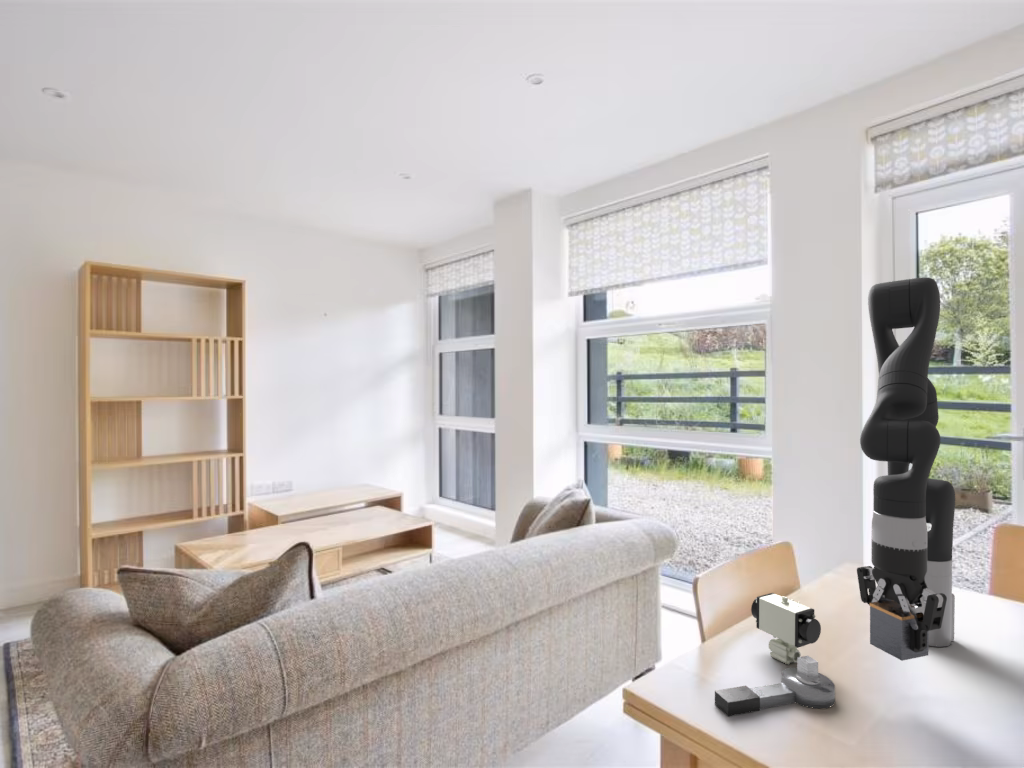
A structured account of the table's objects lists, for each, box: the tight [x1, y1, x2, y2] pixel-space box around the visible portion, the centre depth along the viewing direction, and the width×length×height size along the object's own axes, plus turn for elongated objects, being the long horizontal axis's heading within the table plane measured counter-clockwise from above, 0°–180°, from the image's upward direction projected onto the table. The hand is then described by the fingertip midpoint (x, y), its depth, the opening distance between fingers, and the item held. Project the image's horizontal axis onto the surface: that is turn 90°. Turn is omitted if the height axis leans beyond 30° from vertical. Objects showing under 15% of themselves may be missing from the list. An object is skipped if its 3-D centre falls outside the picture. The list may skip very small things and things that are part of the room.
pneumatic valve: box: [750, 592, 822, 665], centre depth 104 cm, size 6×12×12 cm, turn 27°
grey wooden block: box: [869, 600, 930, 662], centre depth 90 cm, size 6×6×7 cm
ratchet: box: [714, 655, 836, 717], centre depth 91 cm, size 21×8×6 cm, turn 105°
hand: (898, 641), depth 90 cm, fingers closed on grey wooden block, 5 cm apart
